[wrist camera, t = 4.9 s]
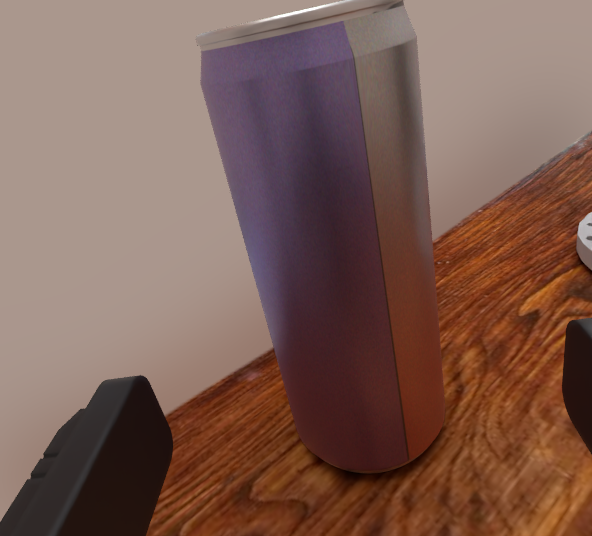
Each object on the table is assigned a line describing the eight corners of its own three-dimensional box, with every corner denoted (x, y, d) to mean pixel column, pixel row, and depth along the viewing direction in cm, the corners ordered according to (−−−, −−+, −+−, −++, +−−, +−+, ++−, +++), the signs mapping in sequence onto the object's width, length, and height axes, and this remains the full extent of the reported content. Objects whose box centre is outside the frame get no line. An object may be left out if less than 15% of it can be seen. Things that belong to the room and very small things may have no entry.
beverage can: (333, 511, 16) (210, 30, 9) (279, 402, 21) (174, 40, 15) (479, 440, 18) (463, -28, 11) (395, 354, 23) (349, 1, 16)
